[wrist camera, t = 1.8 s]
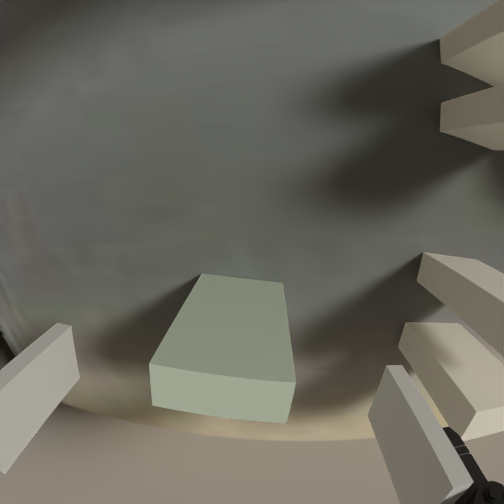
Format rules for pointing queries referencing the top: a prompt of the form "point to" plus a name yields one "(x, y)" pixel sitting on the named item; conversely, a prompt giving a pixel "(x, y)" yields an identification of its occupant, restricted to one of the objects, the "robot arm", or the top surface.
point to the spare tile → (227, 353)
